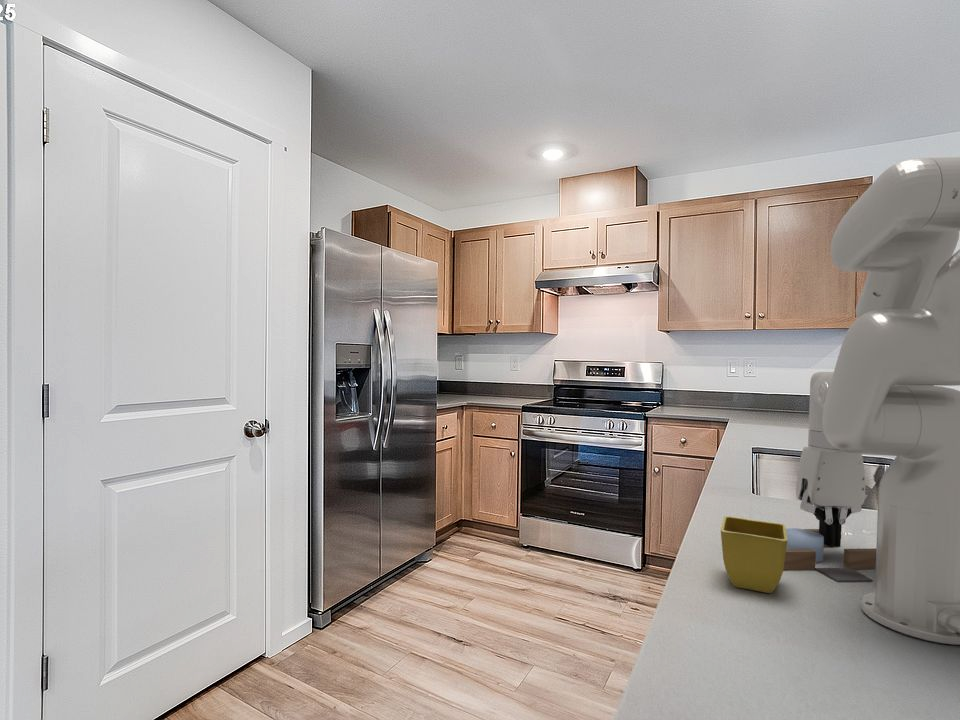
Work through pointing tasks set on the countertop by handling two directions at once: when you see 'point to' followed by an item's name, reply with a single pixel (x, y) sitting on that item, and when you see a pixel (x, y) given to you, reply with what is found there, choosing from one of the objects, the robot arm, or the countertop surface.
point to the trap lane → (852, 560)
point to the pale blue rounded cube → (805, 541)
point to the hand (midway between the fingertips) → (829, 544)
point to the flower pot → (753, 552)
